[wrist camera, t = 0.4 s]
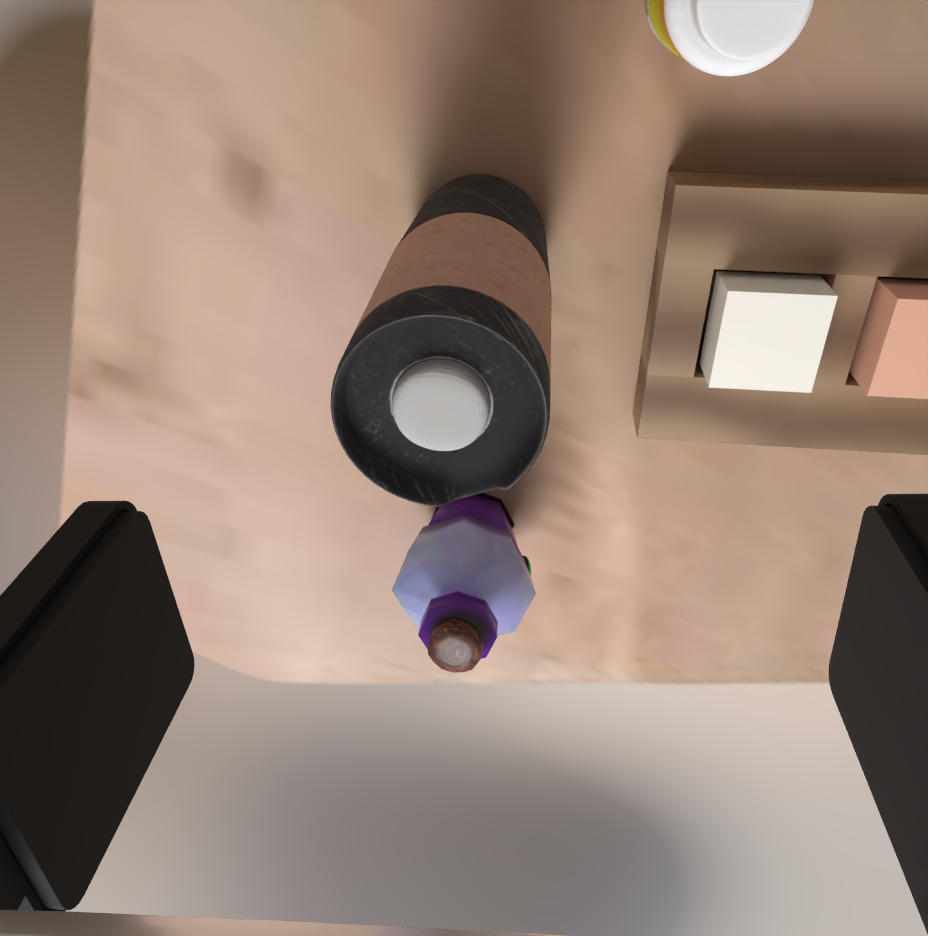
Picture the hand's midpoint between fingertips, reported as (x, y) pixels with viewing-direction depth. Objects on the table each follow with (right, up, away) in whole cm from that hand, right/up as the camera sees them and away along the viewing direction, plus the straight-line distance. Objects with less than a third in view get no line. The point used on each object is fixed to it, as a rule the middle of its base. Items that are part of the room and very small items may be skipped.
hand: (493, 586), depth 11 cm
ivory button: (+15, +9, +32) cm, 37 cm away
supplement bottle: (+11, +24, +26) cm, 37 cm away
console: (+23, +10, +33) cm, 42 cm away
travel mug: (0, +14, +33) cm, 36 cm away
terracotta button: (+23, +9, +32) cm, 40 cm away
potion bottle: (0, -2, +43) cm, 44 cm away
